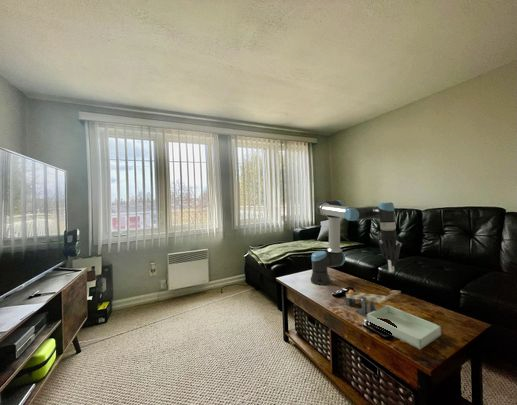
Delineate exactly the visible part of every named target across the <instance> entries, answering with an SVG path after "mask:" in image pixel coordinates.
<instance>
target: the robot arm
mask: <svg viewBox="0 0 517 405" xmlns="http://www.w3.org/2000/svg"><path fill="white" fill-rule="evenodd" d="M394 205H395V204H394V203H393V202H379V203H378V206H363V207H352V206H346V205H345V203H344V202H343V201H342V200H340V199H333V200H331V199H330V200H322V201H319V202H318V203H317V204H316V208H315V210H316V213H317V214H319V215H320V216H326V217H327V219H328V247H327V248H326V251H325V250H319V251H318V250H317V251H315V252H313V253H312V254H311V268H312V270H311V271H312V272H311V276H310V283H312V282H313V283H315V284H314V285H317V284H320V285H319V286H326V284H327V285H329V283H330V284H331V277H330V275H329V272H328V268H333V267H334V268H336V267H340V266H341V267H342V266H343V265H344V263H345V261H346V255H345V253H344V252H343V250H342V248H341V219H345V220H347V221H349V222H351V221H353V222H355V221H361V220H363V221H364V220H379V227H380V228H379V229H380V236H381V238H380V240H377V245H378V246H379V249H380V252H381V256H382V258H383V259H385V260H386V265H387V266H388V272H389V273H393V272H395V266H396V260H399V257H400V252H401V249H402V248H401V247H402V246H403V243H402V242H399V240H398V239H397V230H396V228H397V226H396V214H395V211H396V210H395V206H394ZM313 283H312V284H313Z"/></svg>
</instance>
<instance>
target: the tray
mask: <svg viewBox="0 0 517 405" xmlns="http://www.w3.org/2000/svg"><path fill="white" fill-rule="evenodd" d="M377 318H385V319H388V320H390V321H391V322H392V323H394V324H395V325H396V326H397V328H396V327H394V326H392V325H390V324H388V323H386V322H384V321H382V320H380V319H377ZM365 319H366V322H367V321H369V322H371V323H373V324H375V325H377V326H380V327H382V328H384V329H386V330H388V331H390V332H391V333H392V335H391V336H393V337H394V338H397V339H399V340H401V341H402V342H405V343H406V344H408V345H411V346H412V347H414V348H416V349H418V350H422V349H424V348H425V347H427V346H428V345H429V344H430V343H432V342H434V341H435V340H436V339H438V338H439V337H441V336H442V327H441V325H439V324H436V323H434V322H431V321H429V320H426V319H423V318H421V317H419V316H416V315H413V314H412V313H409V312H406V311H404V310H401V309H398V308H396V307H394V306H391V305H388V304H386V305H384V306H382V307H380V308H377V309H376V310H375V311H373V312H370V313H368V314H366V317H365Z"/></svg>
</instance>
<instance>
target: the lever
mask: <svg viewBox="0 0 517 405" xmlns="http://www.w3.org/2000/svg"><path fill="white" fill-rule="evenodd" d="M348 292H349V291H347V292H345V296H346V297H347V298H351V299H355V300H359V301H360V300H361V297H365V298H366V302H370V301H371V302H375V303H379V304H380V303H384V302H386V301H387V300H389V299H391V298H394V297H396V296H398V295H400V294H401V292H402V291H401V290H396V289H395V290H394V289H393V290H390V291H389V294H388V295H381V294H374V293H361V292H354V295H352V294H349V293H348ZM373 294H374V295H373ZM346 297H345V298H346Z"/></svg>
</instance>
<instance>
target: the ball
mask: <svg viewBox="0 0 517 405" xmlns="http://www.w3.org/2000/svg"><path fill="white" fill-rule="evenodd" d="M347 292H348V293H349V294H352V295H354V290H353V289H349V290H348V291H347Z"/></svg>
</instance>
